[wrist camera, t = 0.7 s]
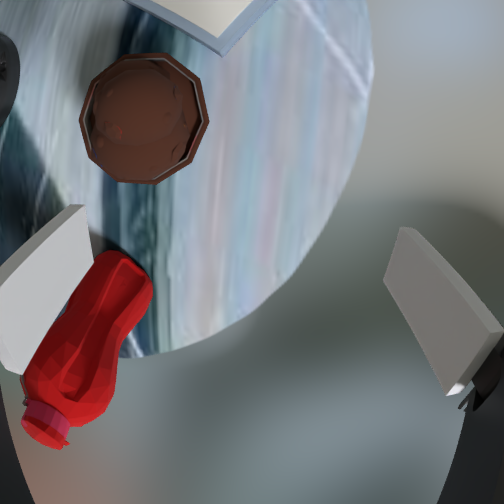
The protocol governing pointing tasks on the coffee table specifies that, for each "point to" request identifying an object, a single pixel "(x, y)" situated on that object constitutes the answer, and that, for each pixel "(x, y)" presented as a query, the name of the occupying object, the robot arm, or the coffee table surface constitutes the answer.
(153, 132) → the ice cream bowl
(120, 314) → the water bottle
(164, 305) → the coffee table surface
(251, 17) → the base plinth
